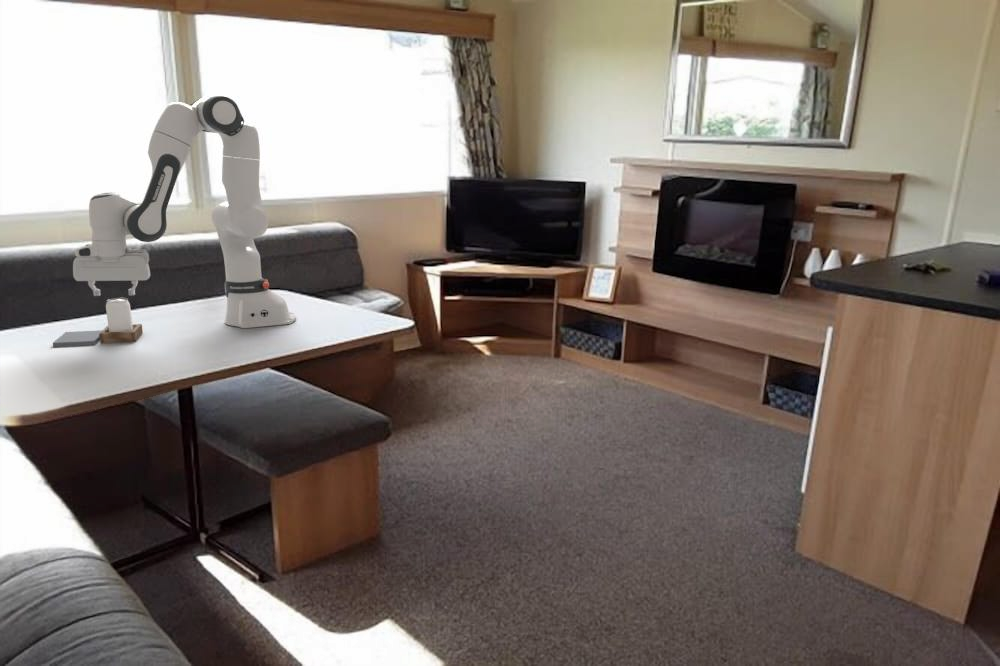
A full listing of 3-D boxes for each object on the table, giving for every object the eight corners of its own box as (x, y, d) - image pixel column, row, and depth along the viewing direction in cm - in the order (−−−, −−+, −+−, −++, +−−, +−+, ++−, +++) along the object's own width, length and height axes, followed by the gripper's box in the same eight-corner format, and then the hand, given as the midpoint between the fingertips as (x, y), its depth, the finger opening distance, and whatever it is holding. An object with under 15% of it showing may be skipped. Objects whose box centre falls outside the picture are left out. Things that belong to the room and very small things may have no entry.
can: (138, 335, 225) (133, 297, 222) (126, 341, 219) (121, 302, 216) (118, 335, 226) (113, 296, 223) (105, 340, 220) (100, 301, 217)
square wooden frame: (142, 333, 228) (141, 323, 227) (135, 341, 219) (134, 332, 218) (109, 334, 226) (107, 325, 225) (100, 343, 217) (99, 333, 216)
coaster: (105, 333, 227) (105, 330, 227) (94, 344, 216) (94, 340, 215) (66, 335, 224) (65, 332, 224) (53, 346, 213) (52, 342, 213)
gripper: (150, 247, 221) (154, 292, 224) (75, 247, 216) (80, 293, 219) (146, 250, 215) (150, 296, 218) (68, 250, 210) (74, 298, 213)
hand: (114, 295), depth 219 cm, fingers open, 8 cm apart
